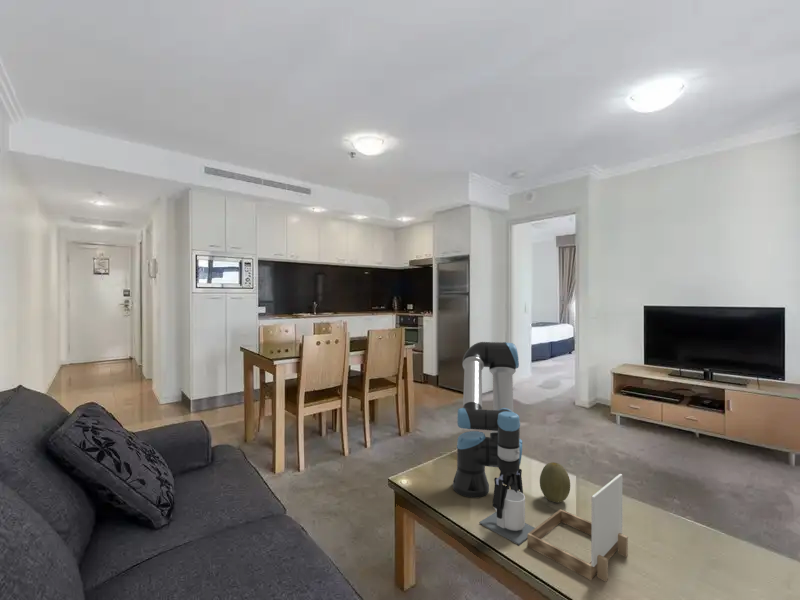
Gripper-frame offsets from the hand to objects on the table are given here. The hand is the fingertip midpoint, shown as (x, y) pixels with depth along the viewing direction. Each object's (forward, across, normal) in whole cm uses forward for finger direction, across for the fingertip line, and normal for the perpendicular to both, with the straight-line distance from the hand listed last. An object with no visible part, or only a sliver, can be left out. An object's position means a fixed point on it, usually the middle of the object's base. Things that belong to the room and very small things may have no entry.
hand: (508, 521), depth 135 cm
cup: (0, 0, 0) cm, 0 cm away
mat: (+2, 0, 0) cm, 2 cm away
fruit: (+2, +30, -2) cm, 30 cm away
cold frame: (+2, +7, -20) cm, 21 cm away
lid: (+2, +7, -32) cm, 32 cm away
